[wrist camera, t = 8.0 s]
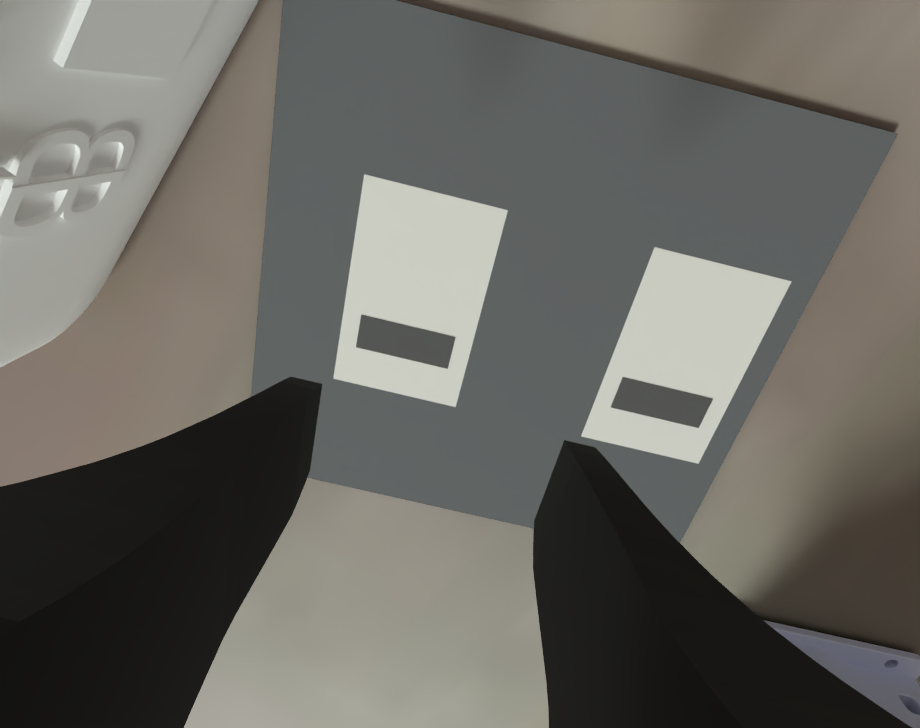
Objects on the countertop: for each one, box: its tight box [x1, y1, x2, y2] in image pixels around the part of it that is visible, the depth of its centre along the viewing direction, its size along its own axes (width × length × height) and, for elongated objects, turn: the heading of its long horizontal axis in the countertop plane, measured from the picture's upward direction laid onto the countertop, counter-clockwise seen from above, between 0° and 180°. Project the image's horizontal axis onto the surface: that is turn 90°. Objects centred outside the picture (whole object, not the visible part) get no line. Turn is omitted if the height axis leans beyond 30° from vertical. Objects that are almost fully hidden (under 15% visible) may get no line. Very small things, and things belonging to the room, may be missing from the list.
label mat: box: [251, 0, 898, 543], centre depth 18 cm, size 17×16×1 cm
